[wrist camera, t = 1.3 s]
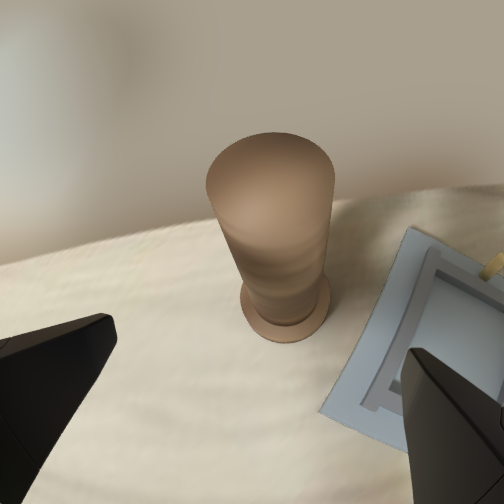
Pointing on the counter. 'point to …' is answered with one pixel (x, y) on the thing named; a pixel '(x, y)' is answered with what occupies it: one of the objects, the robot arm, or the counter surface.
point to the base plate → (422, 335)
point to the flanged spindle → (276, 229)
